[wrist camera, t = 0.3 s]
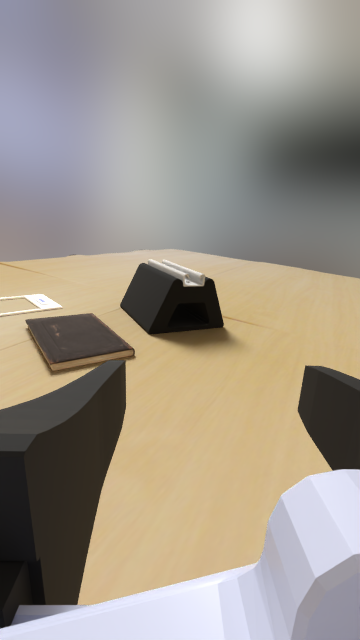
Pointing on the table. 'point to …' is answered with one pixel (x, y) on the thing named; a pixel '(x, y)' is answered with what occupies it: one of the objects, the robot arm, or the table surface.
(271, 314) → the table surface
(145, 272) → the device stand
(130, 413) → the table surface
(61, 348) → the hardcover book
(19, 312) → the photo frame
